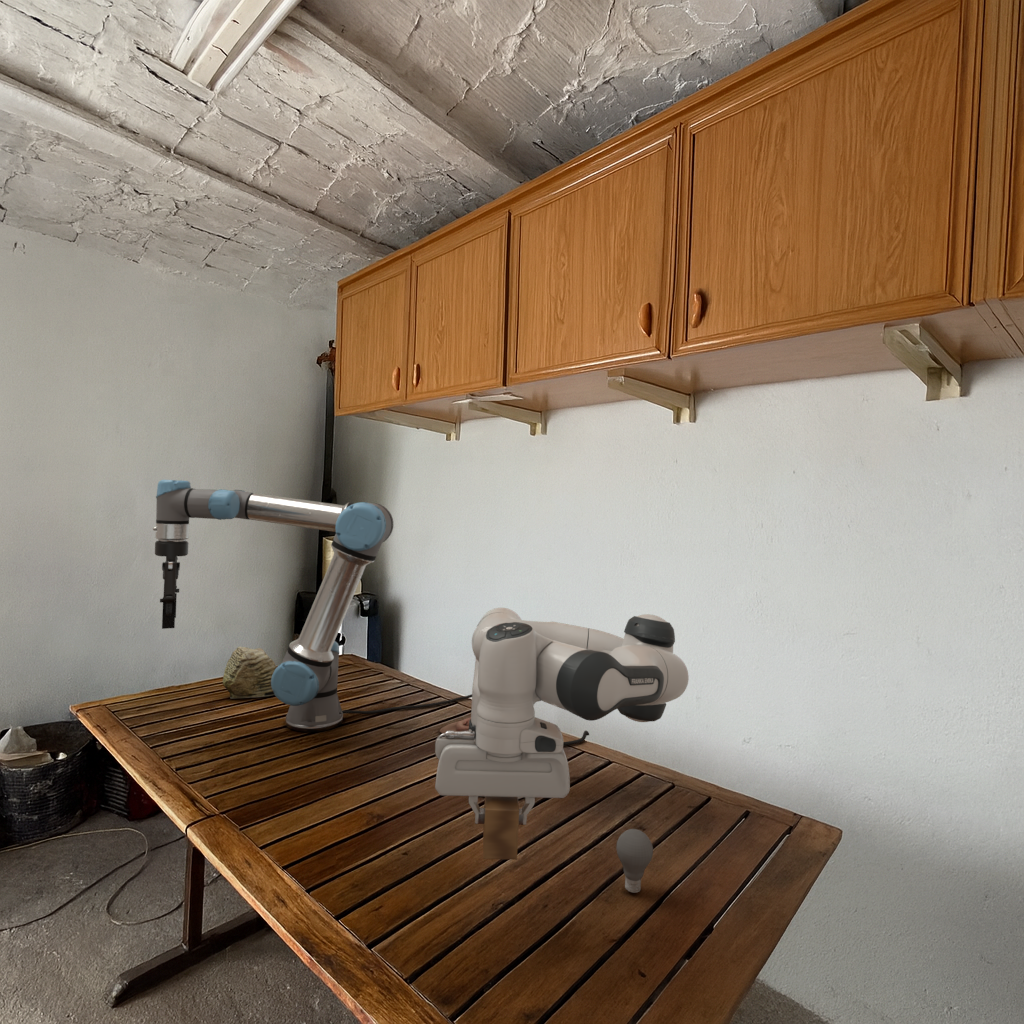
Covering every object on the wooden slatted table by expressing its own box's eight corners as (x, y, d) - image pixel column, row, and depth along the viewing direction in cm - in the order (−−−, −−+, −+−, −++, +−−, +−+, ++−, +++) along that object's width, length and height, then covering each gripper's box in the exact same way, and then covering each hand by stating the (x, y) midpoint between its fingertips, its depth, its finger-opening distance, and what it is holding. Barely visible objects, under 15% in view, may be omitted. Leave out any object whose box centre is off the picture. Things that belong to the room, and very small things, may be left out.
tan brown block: (483, 859, 92) (485, 809, 92) (483, 833, 99) (485, 786, 99) (517, 859, 92) (519, 810, 92) (514, 833, 99) (516, 787, 99)
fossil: (218, 695, 195) (220, 647, 195) (278, 685, 208) (279, 640, 207) (228, 703, 189) (230, 653, 188) (289, 692, 201) (290, 645, 201)
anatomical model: (436, 720, 170) (448, 707, 182) (435, 735, 170) (448, 721, 182) (483, 726, 168) (493, 712, 179) (483, 741, 168) (493, 726, 179)
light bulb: (610, 879, 108) (613, 822, 108) (644, 879, 109) (647, 822, 109) (619, 902, 102) (622, 840, 102) (655, 901, 103) (658, 840, 103)
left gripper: (157, 536, 171) (154, 614, 172) (152, 544, 149) (149, 633, 149) (188, 536, 175) (186, 613, 175) (188, 544, 152) (185, 632, 153)
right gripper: (434, 738, 92) (430, 832, 92) (573, 742, 93) (569, 835, 93) (437, 722, 98) (433, 810, 99) (568, 726, 99) (564, 813, 99)
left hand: (169, 623), depth 162 cm, fingers open, 13 cm apart
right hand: (500, 822), depth 96 cm, fingers closed on tan brown block, 5 cm apart
